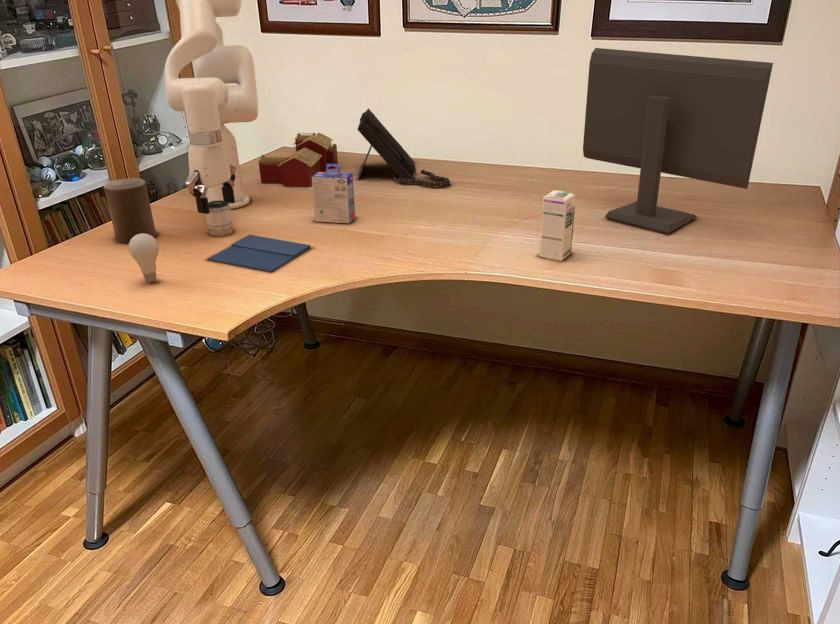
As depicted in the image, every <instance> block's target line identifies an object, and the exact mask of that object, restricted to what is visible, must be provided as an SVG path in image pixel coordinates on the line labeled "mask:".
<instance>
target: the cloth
mask: <svg viewBox="0 0 840 624" xmlns="http://www.w3.org/2000/svg"><path fill="white" fill-rule="evenodd" d="M310 249H311V244H308V243H307V244H305V243H300V242H295V241H289V240H285V239H284V240H283V239H279V238H272V237H265V236H260V235H254V234H247V235H246V236H244V237H242V238H241V239H240V238H239V240H236V241H235V242H232V243H231V244H230V246H228V247H226V248H225V249H223V250H220V251H219V252H217V253H215V254H212V256H210V257H207V261H210V262H216V263H221V264H227V265H232V266H235V267H241V268H245V269H246V268H247V269H252V270H258V271H262V272H268V273H273V272H274V271H276V270H277V269H280V268H282V267H283V266H285V265H286V264H287V263H289V262H290V261H292V260H294V259H295V258H297V257H299V256H300V255H302V254H303V253H305V252H306V251H309V250H310Z"/></svg>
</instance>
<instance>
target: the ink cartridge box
mask: <svg viewBox="0 0 840 624" xmlns="http://www.w3.org/2000/svg"><path fill="white" fill-rule="evenodd" d="M333 166H334V167H335V169H330V168H329V167H333ZM340 171H341V164H340V163H338V164H327V167H326V172H317V173H316V174H315V175H314V176H312V185H311V187H312V198H313V199H312V200H313V209H314V211H313V212H314V222H317V223H318V222H319V223H335V224H336V223H338V224H350V223H352V221H354V220H355V219H356V206H355V205H356V204H355V189H354V187H355V186H354V173H353V172H342V171H341V172H340Z"/></svg>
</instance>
